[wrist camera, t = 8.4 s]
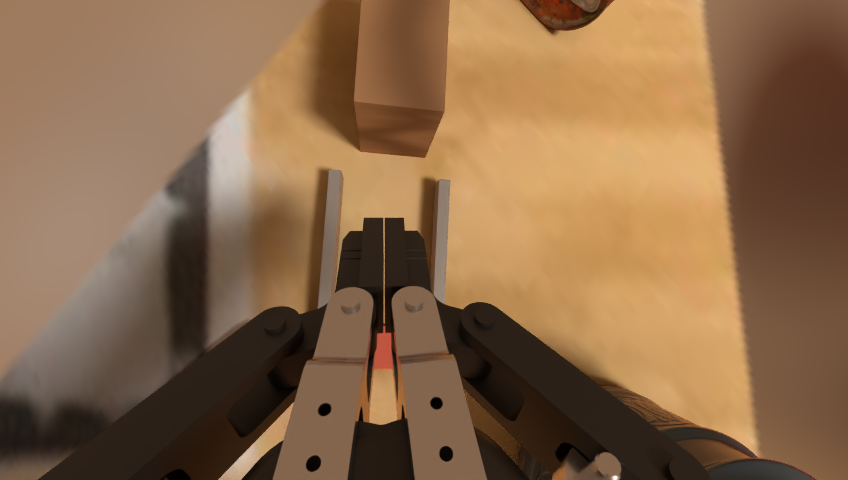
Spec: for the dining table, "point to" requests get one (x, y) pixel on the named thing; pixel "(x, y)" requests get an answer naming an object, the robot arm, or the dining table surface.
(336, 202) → the channel
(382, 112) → the block
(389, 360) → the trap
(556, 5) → the tin
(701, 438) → the canister
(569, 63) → the dining table surface
